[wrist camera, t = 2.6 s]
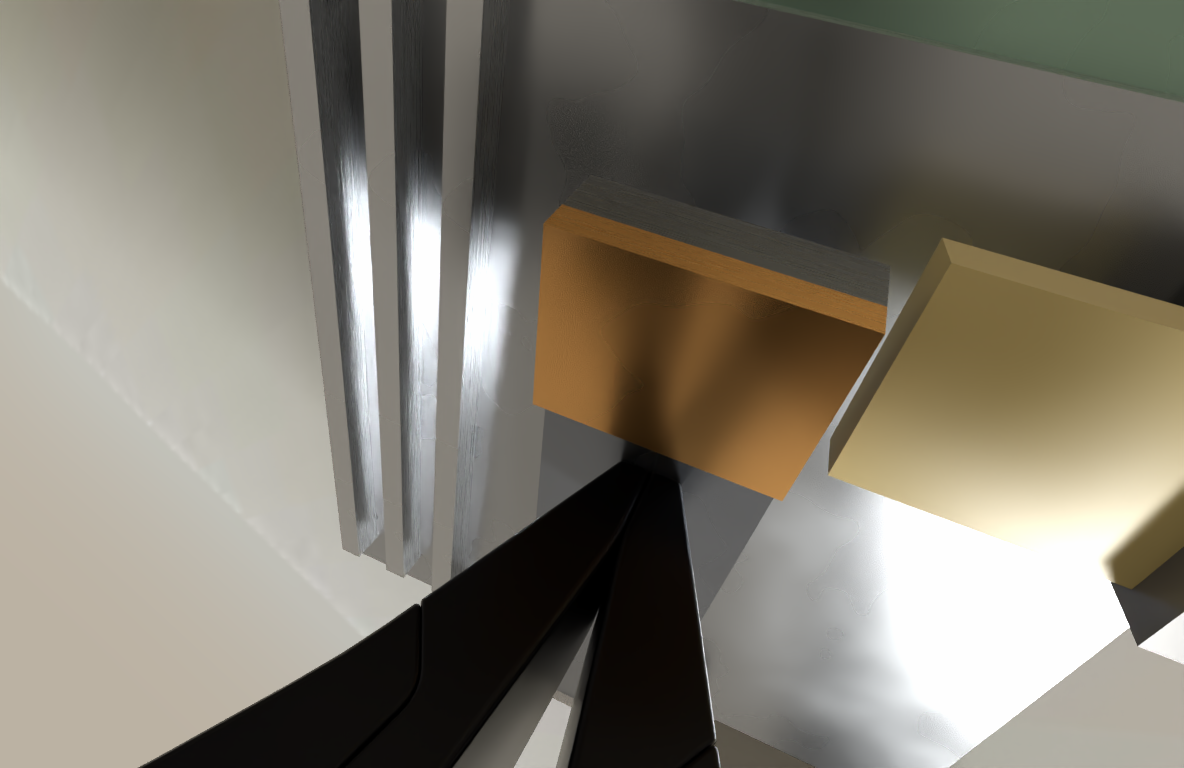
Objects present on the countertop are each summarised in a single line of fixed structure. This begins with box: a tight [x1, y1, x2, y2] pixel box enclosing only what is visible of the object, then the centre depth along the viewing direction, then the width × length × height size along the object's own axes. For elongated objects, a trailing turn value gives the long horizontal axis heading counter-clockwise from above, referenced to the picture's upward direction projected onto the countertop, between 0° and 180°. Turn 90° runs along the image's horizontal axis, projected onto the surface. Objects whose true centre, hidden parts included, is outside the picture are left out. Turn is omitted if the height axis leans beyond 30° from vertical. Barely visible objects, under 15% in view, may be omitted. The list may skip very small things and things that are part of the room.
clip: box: [828, 238, 1184, 664], centre depth 6 cm, size 3×5×3 cm, turn 79°
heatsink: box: [279, 0, 1184, 768], centre depth 12 cm, size 19×19×4 cm
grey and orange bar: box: [533, 175, 890, 707], centre depth 10 cm, size 14×3×1 cm, turn 170°
